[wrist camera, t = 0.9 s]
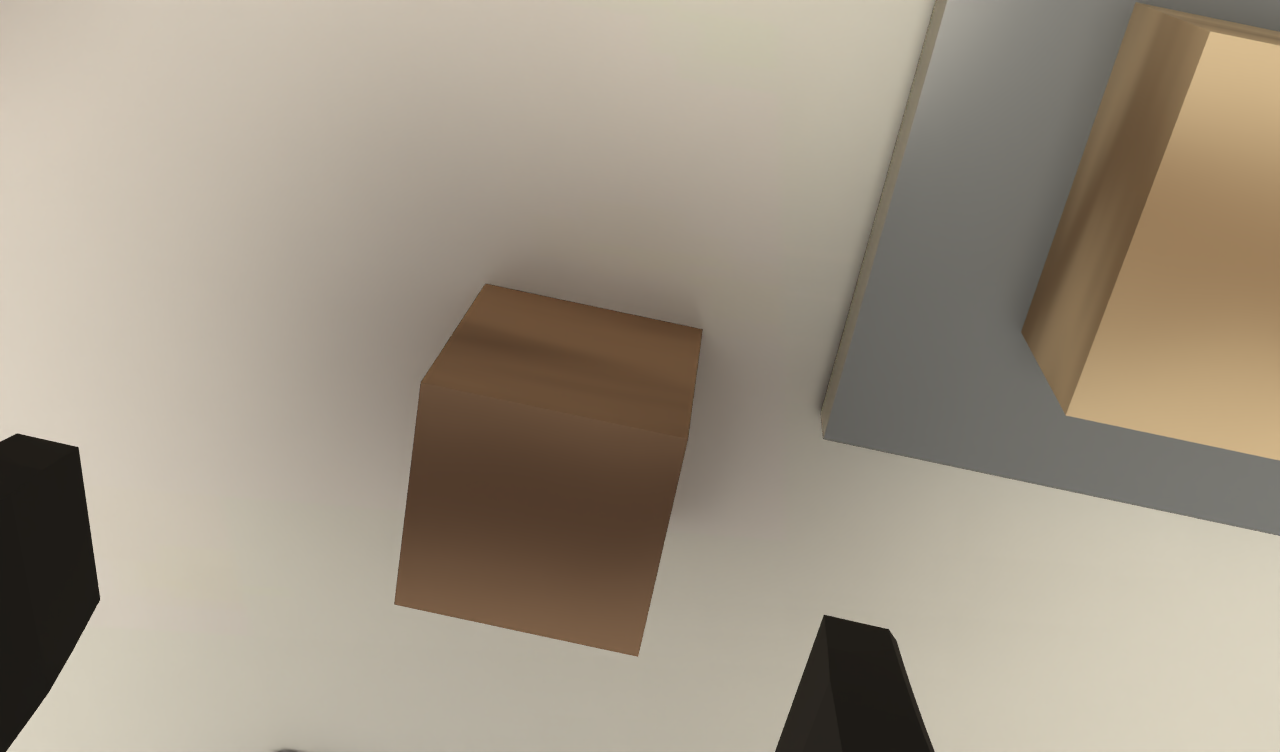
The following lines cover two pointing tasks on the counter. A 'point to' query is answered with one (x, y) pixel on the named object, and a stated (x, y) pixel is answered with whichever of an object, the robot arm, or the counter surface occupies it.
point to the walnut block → (547, 468)
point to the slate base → (1008, 268)
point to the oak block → (1173, 242)
